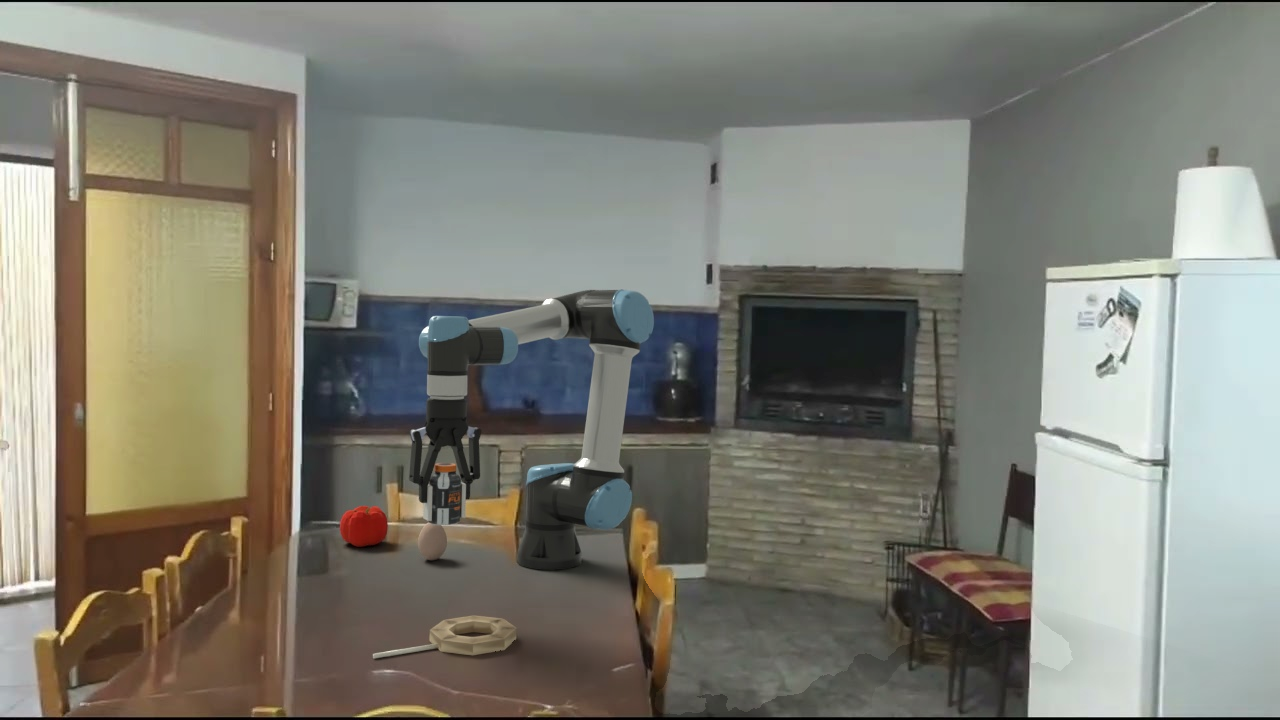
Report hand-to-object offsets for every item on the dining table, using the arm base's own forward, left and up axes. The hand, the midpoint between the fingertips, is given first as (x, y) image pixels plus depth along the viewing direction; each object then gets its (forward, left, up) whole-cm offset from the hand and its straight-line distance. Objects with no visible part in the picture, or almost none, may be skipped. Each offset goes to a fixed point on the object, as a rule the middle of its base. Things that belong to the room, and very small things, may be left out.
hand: (444, 517), depth 179 cm
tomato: (-2, -60, -19) cm, 63 cm away
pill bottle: (0, 0, -1) cm, 1 cm away
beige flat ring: (0, +16, -19) cm, 25 cm away
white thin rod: (+13, +17, -19) cm, 28 cm away
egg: (-12, -39, -19) cm, 45 cm away
